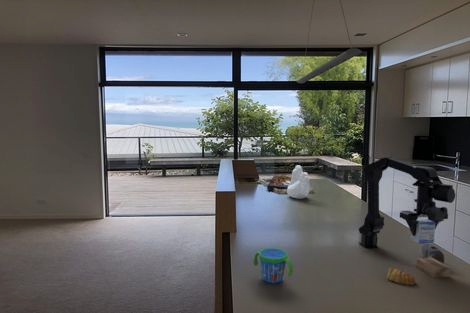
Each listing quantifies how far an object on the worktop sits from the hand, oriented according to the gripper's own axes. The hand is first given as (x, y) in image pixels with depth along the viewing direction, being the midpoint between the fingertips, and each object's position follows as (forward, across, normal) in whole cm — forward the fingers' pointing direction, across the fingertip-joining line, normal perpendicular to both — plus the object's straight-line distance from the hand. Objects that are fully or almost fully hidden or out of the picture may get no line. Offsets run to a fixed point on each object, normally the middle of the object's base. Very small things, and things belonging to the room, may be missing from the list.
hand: (422, 235), depth 142 cm
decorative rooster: (+11, -3, +122) cm, 123 cm away
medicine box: (+3, 0, 0) cm, 3 cm away
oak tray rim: (+10, +2, +166) cm, 167 cm away
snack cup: (+13, -65, -1) cm, 66 cm away
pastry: (+14, -18, -10) cm, 24 cm away
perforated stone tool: (+13, +8, +4) cm, 16 cm away
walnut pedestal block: (+14, +1, -6) cm, 15 cm away
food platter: (+9, +2, +166) cm, 167 cm away
